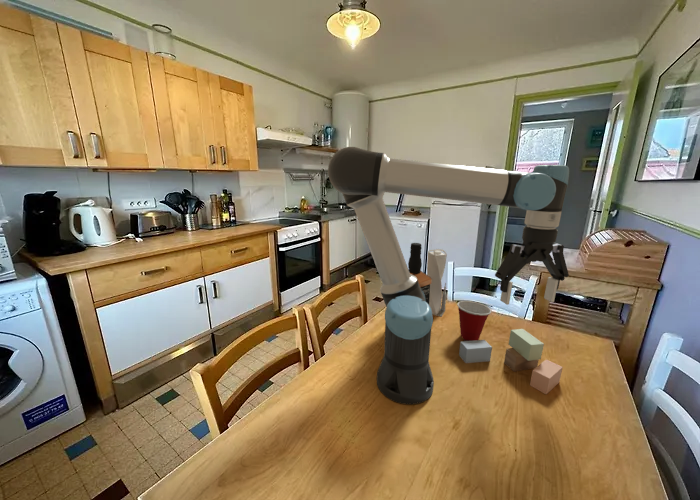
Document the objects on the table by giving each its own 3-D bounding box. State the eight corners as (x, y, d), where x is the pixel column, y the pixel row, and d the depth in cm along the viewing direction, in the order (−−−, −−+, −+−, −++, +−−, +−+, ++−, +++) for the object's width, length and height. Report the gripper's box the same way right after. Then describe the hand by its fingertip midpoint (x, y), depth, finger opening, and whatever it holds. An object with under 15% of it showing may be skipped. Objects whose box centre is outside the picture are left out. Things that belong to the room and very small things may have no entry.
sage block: (540, 359, 80) (543, 343, 79) (528, 360, 80) (531, 345, 78) (520, 343, 88) (522, 328, 86) (508, 344, 87) (510, 329, 86)
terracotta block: (546, 394, 74) (549, 378, 73) (529, 385, 77) (532, 369, 76) (559, 382, 78) (562, 367, 77) (543, 374, 81) (546, 359, 80)
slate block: (465, 363, 86) (467, 349, 85) (458, 355, 90) (460, 341, 89) (490, 361, 87) (492, 347, 86) (482, 353, 91) (484, 339, 90)
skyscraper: (440, 319, 113) (446, 251, 105) (420, 314, 117) (425, 248, 109) (445, 310, 120) (451, 246, 112) (426, 306, 124) (431, 243, 116)
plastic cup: (494, 341, 97) (499, 309, 94) (470, 349, 93) (475, 316, 90) (469, 326, 107) (473, 297, 103) (447, 333, 102) (450, 302, 99)
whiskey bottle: (392, 324, 108) (395, 242, 100) (409, 316, 114) (414, 239, 106) (413, 336, 100) (419, 248, 92) (430, 327, 106) (437, 244, 98)
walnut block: (513, 371, 82) (516, 356, 81) (503, 363, 86) (506, 348, 85) (537, 368, 84) (540, 353, 83) (526, 359, 88) (528, 345, 87)
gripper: (506, 230, 69) (494, 309, 74) (596, 228, 72) (578, 305, 78) (487, 224, 76) (477, 297, 82) (570, 223, 79) (555, 293, 85)
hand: (526, 301), depth 80 cm, fingers open, 13 cm apart
